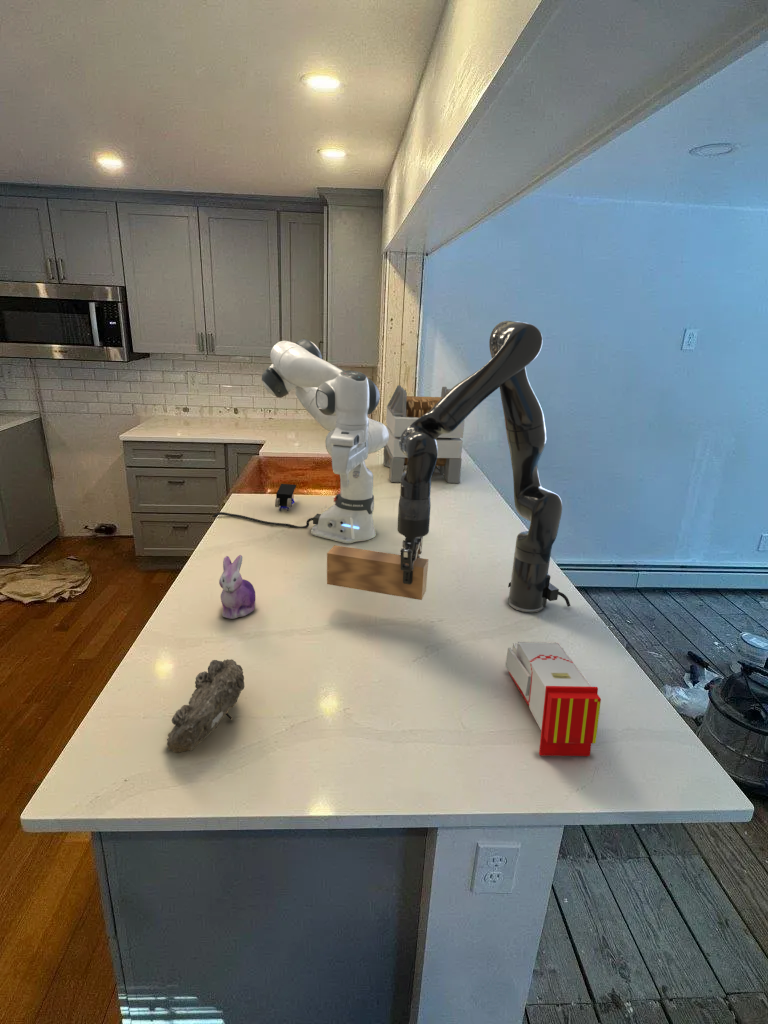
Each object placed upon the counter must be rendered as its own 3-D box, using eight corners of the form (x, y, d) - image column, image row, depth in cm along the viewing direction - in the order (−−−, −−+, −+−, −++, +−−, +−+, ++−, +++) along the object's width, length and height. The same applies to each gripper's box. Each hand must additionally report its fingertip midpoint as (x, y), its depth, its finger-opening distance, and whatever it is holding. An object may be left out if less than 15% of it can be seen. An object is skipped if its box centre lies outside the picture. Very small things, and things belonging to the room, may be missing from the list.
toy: (554, 624, 127) (610, 694, 97) (548, 679, 130) (602, 763, 100) (500, 623, 126) (541, 693, 97) (496, 678, 129) (534, 763, 100)
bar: (326, 584, 143) (326, 553, 140) (334, 575, 148) (334, 545, 145) (421, 600, 137) (423, 567, 134) (426, 590, 142) (428, 559, 139)
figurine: (224, 623, 139) (221, 568, 134) (215, 604, 148) (212, 552, 142) (262, 616, 143) (260, 562, 138) (251, 598, 152) (249, 546, 147)
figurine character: (292, 516, 215) (297, 499, 228) (291, 498, 212) (296, 482, 225) (274, 516, 215) (280, 499, 228) (273, 498, 211) (279, 482, 225)
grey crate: (382, 463, 289) (386, 382, 275) (445, 464, 293) (451, 384, 279) (390, 482, 257) (394, 392, 243) (460, 483, 261) (468, 394, 247)
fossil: (192, 660, 117) (244, 628, 112) (224, 691, 120) (276, 661, 115) (142, 746, 98) (202, 712, 93) (182, 779, 101) (242, 748, 96)
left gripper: (353, 425, 164) (352, 471, 168) (327, 439, 145) (327, 490, 150) (374, 427, 162) (372, 473, 167) (350, 441, 144) (349, 493, 148)
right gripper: (423, 526, 126) (418, 593, 132) (435, 506, 139) (431, 568, 145) (390, 521, 128) (387, 588, 134) (405, 502, 141) (402, 564, 147)
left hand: (351, 482), depth 158 cm, fingers open, 8 cm apart
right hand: (410, 577), depth 139 cm, fingers closed on bar, 5 cm apart
